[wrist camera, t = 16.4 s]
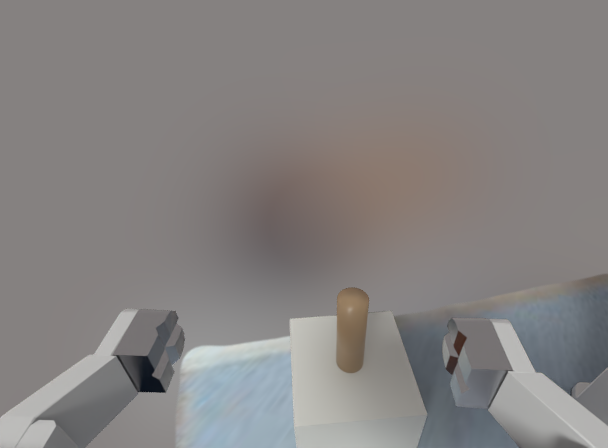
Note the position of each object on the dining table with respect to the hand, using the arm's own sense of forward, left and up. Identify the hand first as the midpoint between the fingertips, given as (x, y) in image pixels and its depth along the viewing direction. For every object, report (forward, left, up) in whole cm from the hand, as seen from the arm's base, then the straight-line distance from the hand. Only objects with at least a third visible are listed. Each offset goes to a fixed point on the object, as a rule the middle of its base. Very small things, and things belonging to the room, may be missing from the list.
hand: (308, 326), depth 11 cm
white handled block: (-5, -16, -38) cm, 42 cm away
